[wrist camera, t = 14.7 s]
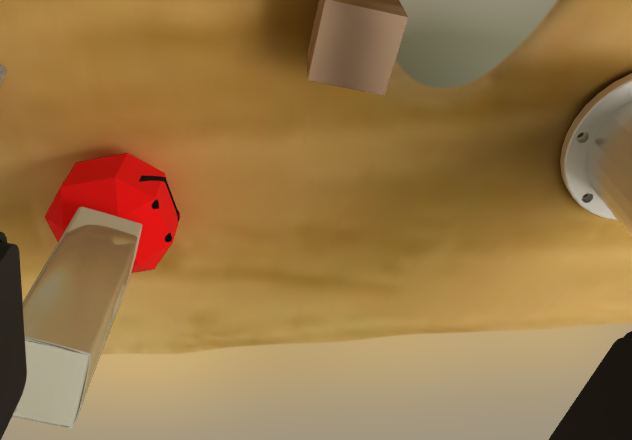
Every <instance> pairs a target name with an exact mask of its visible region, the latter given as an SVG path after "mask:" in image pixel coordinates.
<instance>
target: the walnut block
mask: <svg viewBox="0 0 632 440" xmlns="http://www.w3.org/2000/svg"><path fill="white" fill-rule="evenodd" d="M407 20H408V16H407V14H406V12H405V11H404V9H403V7H402V5H401V3H400V1H399V0H319V1H318V6H317V10H316V15H315V20H314V24H313V29H312V33H311V38H310V43H309V47H308V52H307V72H308V80H310V81H315V82H320V83H324V84H329V85H334V86H339V87H344V88H349V89H354V90H359V91H364V92H369V93H374V94H379V95H383V96H385V93H386V90H387V87H388V83H389V80H390V77H391V73H392V70H393V67H394V63H395V60H396V57H397V53H398V50H399V46H400V43H401V40H402V36H403V33H404V30H405V26H406V23H407Z"/></svg>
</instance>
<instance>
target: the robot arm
mask: <svg viewBox="0 0 632 440" xmlns="http://www.w3.org/2000/svg"><path fill="white" fill-rule="evenodd" d="M560 165H561V175H562V178H563V180H564V183H565V186H566V188H567V189H568V191H569V192H570V194H571V195H572V197H573V198H574V199H575V200H576V202H577V203H578V204H579V205H580V206H582V207H583V208H584V209H586V210H587V211H589V212H590V213H593V214H595V215H598V216H600V217H603V218H608V219H613V220H618V221H619V222H620V224H621V225H622V226H623V227H624V229H625V230H626V231H627V233H628V234H629V235H630V236H631V238H632V73H631V74H629V75H627V76H625V77H623V78H621V79H619V80H617V81H615V82H613V83H612V84H611V85H609V86H608V87H606V88H605V89H604V90H602V91H601V92H599V93H598V94H597V95H596V96H595V97H594V98H593V99H592V100H591V101H590V102H589V103H587V104H586V105H585V107H584V108H583V109H582V110H581V112H580V113H579V114H578V116H577V117H576V118H575V119H574V121H573V123H572V125H571V127H570V129H569V130H568V132H567V134H566V137H565V140H564V143H563V146H562V151H561V159H560ZM26 377H27V366H26V350H25V335H24V319H23V304H22V288H21V273H20V257H19V249H18V247H17V245H15V244H9V243H7V239H6V236H5V234H4V233H2V232H0V440H1V438H2V436H3V434H4V432H5V430H6V428H7V426H8V423H9V421H10V419H11V417H12V415H13V413H14V411H15V409H16V407H17V405H18V403H19V401H20V398H21V396H22V394H23V391H24V387H25V383H26ZM549 440H632V331H631V332H629V333H627V334H626V335H625V336H624V337H623V338H620V339H618V340H617V341H616V342H615V343H614V344H613V345H612V347H611V348H610V350H609V351H608V353H607V354H606V356H605V357H604V359H603V360H602V362H601V363H600V365H599V366H598V368H597V369H596V371H595V372H594V373H593V375H592V376H591V378H590V379H589V381H588V382H587V384H586V385H585V387H584V388H583V390H582V391H581V392H580V394H579V396H578V397H577V398H576V400H575V401H574V403H573V404H572V406H571V407H570V409H569V410H568V412H567V413H566V415H565V416H564V418H563V419H562V420H561V422H560V423H559V425H558V427H557V428H556V429H555V431H554V432H553V434H552V435H551V437H550V439H549Z"/></svg>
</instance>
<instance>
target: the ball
mask: <svg viewBox="0 0 632 440" xmlns="http://www.w3.org/2000/svg"><path fill="white" fill-rule="evenodd" d="M79 207H86V208H89V209H93V210H96V211H100V212H104V213H107V214H110V215H114V216H117V217H121V218H124V219H127V220H130V221H133V222H137V223H140V224H142V230H141V235H140V239H139V244H138V248H137V253H136V257H135V261H134V264H133V268H132V271H131V273H134V272H140V271H146V270H152V269H155V267H156V266H157V264H158V263H159V262H160V260H161V259H162V257H163V256H164V254H165V253H166V251H167V250H168V248H169V247H170V245H171V244H172V243H173V239H174V236H175V233H176V229H177V226H178V221H179V219H180V213H179V211H178V210H177V208H176V205H175V202H174V200H173V197H172V194H171V192H170V189H169V186H168V184H167V181H166V176H165V173H163V172H161V171H160V170H158V169H156V168H154V167H152V166H150V165H148V164H147V163H145V162H143V161H141V160H139V159H137V158H135V157H133V156H132V155H130V154H128V153H126V154H120V155H115V156H109V157H103V158H98V159H92V160H87V161H81V162H76V164H75V166H74V167H73V169H72V170H71V172H70V173H69V175H68V176H67V178H66V180H65V181H64V183H63V184H62V186H61V187H60V189H59V191H58V193H57V195H56V197H55V199H54V201H53V203H52V204H51V206H50V208H49V210H48V212H47V214H46V216H45V218H46V220H47V222H48V224H49V226H50V228H51V230H52V232H53V234H54V235H55V237H56V239H57V241H58V242H59V240H60V239H61V237H62V235H63V234H64V232H65V230H66V228H67V227H68V225H69V223H70V222H71V220H72V218H73V216H74V215H75V213H76V211H77V210H78V208H79Z"/></svg>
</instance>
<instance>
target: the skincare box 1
mask: <svg viewBox="0 0 632 440" xmlns="http://www.w3.org/2000/svg"><path fill="white" fill-rule="evenodd" d="M5 72H6V68H5V67H4V66H2V65H0V85H1V83H2V80H3V77H4V74H5Z"/></svg>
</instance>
